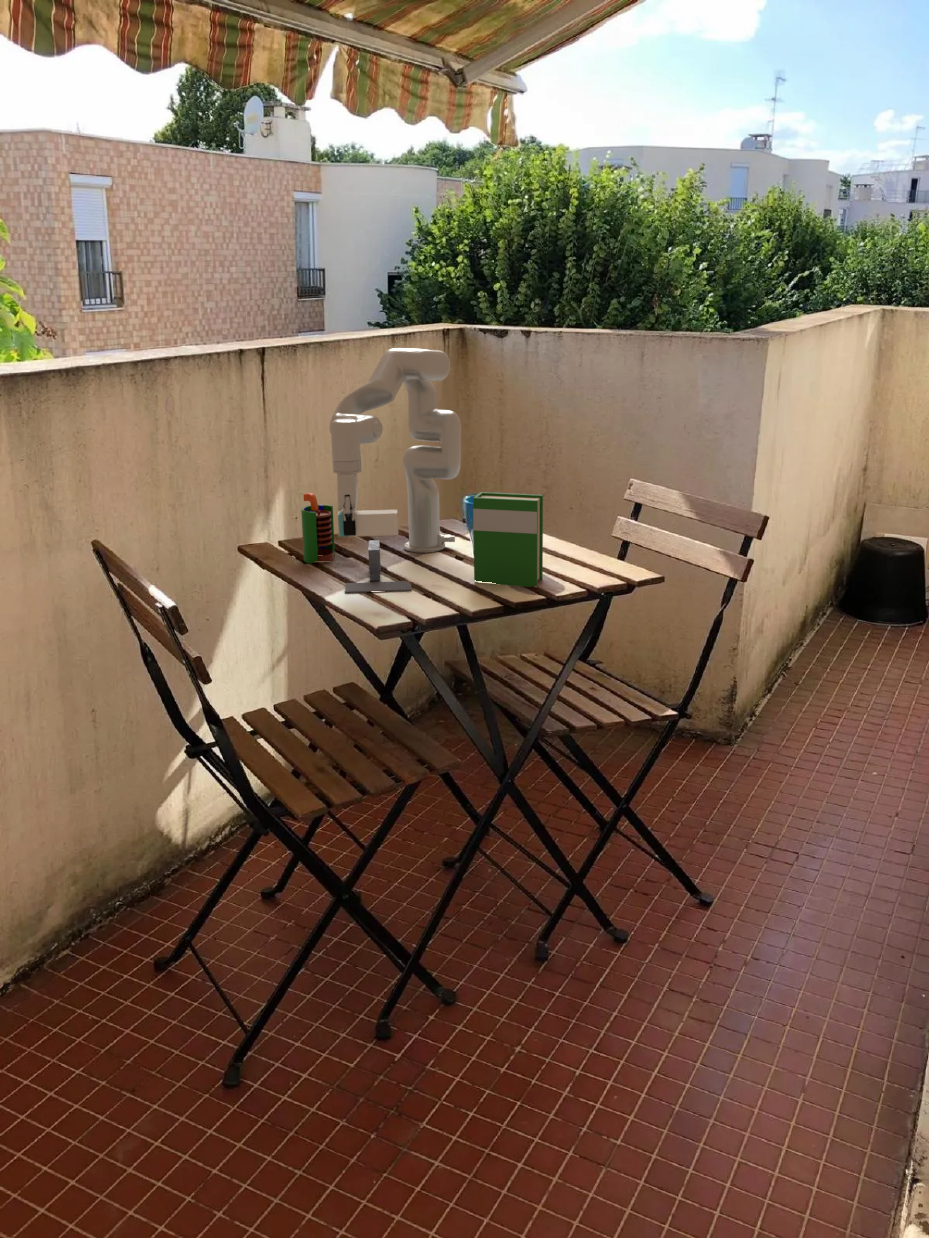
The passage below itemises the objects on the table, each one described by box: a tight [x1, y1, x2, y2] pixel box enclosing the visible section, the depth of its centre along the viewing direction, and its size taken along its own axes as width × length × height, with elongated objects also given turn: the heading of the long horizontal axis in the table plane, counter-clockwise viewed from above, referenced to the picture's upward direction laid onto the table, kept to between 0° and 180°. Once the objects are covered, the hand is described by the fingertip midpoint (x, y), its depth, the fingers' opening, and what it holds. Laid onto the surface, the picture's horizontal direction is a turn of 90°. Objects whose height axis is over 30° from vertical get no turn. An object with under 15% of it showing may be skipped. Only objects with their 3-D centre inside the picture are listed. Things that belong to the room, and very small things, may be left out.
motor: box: [301, 492, 336, 565], centre depth 326 cm, size 10×9×20 cm
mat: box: [344, 580, 413, 594], centre depth 301 cm, size 18×8×1 cm, turn 94°
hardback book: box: [472, 491, 544, 588], centre depth 301 cm, size 18×7×24 cm, turn 74°
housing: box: [367, 539, 382, 582], centre depth 312 cm, size 3×16×9 cm, turn 4°
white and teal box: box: [337, 509, 399, 538], centre depth 297 cm, size 16×4×6 cm, turn 92°
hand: (350, 532), depth 298 cm, fingers closed on white and teal box, 4 cm apart
